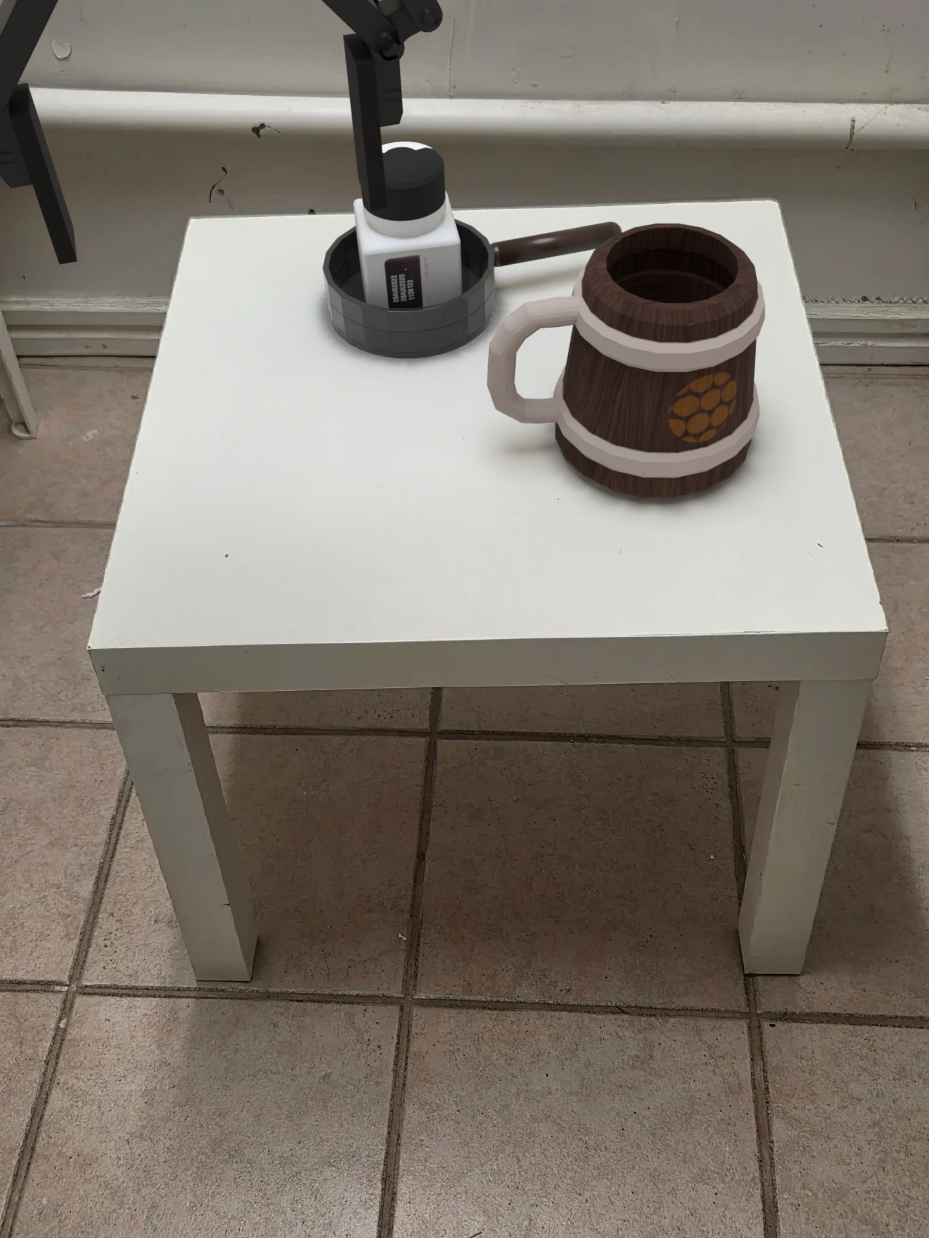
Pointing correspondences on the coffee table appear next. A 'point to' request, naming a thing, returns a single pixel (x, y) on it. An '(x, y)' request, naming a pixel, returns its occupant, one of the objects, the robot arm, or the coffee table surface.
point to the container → (409, 233)
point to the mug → (647, 362)
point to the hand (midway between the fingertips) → (222, 220)
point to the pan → (410, 326)
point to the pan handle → (553, 243)
